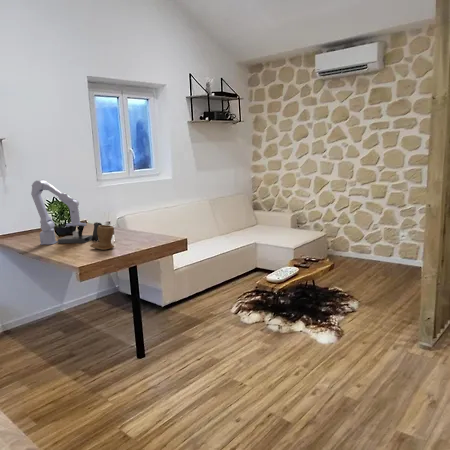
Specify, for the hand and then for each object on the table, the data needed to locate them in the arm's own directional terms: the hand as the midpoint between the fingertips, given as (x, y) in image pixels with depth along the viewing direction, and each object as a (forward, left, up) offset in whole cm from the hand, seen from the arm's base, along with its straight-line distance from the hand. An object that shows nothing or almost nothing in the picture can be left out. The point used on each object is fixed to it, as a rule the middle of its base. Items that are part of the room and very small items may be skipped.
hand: (77, 236), depth 285 cm
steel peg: (0, 0, -2) cm, 2 cm away
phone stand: (+14, +4, -4) cm, 15 cm away
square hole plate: (-2, 0, -3) cm, 4 cm away
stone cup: (+31, -23, -4) cm, 39 cm away
